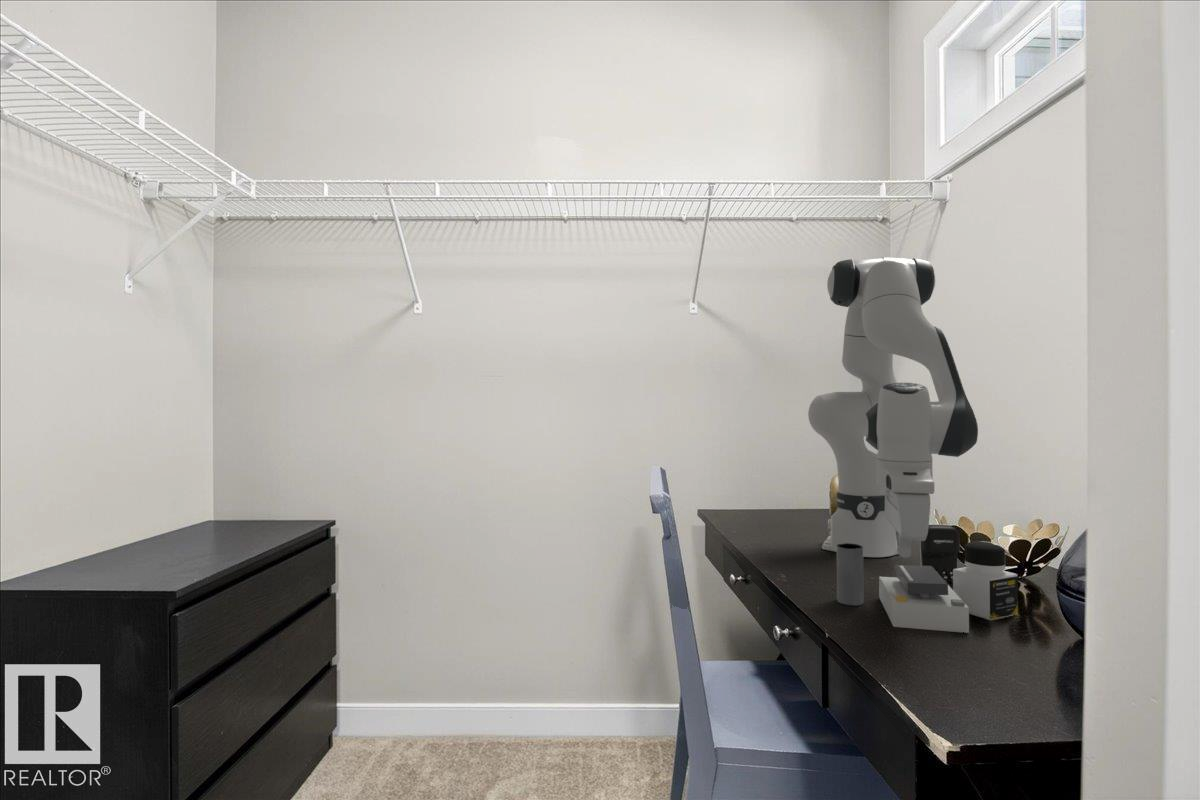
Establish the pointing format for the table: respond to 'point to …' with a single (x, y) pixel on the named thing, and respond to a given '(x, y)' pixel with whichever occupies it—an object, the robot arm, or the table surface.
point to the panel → (923, 608)
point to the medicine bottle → (986, 582)
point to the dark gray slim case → (921, 580)
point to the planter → (850, 574)
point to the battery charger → (941, 550)
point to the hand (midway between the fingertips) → (903, 555)
